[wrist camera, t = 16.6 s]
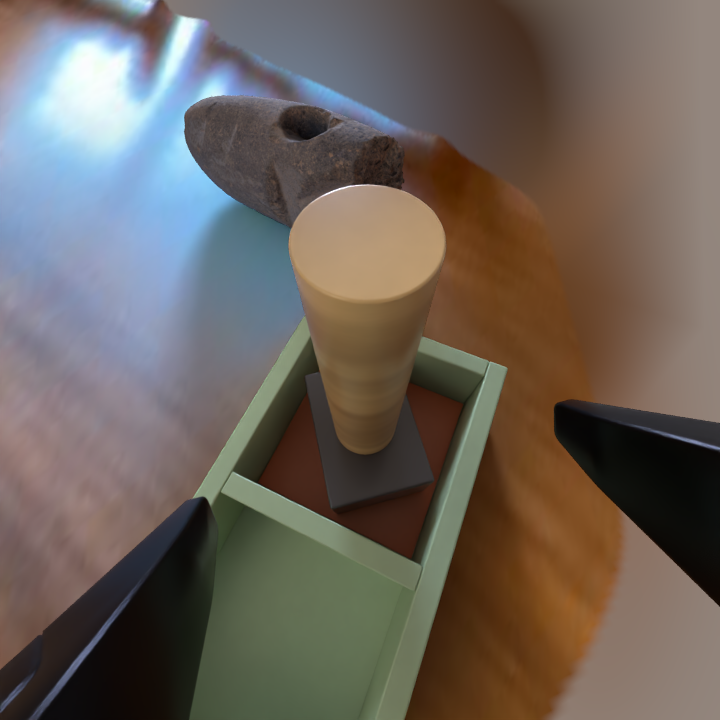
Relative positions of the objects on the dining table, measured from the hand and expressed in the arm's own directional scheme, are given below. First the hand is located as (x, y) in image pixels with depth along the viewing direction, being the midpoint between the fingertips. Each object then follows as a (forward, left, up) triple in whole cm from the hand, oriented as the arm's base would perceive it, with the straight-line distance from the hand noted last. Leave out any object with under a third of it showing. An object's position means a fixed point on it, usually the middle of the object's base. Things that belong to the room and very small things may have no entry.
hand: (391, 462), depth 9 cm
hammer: (+2, 0, -8) cm, 8 cm away
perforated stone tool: (+20, -1, -9) cm, 22 cm away
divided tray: (0, +3, -9) cm, 9 cm away
